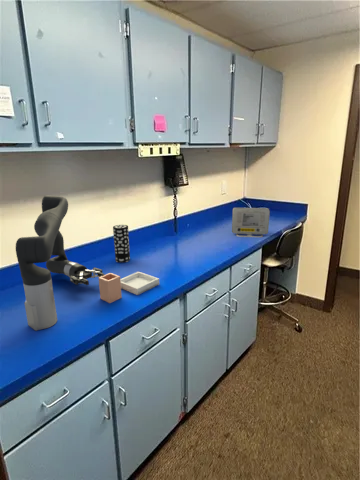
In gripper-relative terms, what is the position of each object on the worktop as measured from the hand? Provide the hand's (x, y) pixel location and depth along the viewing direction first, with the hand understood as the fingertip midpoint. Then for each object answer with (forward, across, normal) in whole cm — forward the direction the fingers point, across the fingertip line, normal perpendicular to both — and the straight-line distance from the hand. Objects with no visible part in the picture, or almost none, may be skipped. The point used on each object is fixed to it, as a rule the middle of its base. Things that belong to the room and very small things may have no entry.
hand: (96, 279), depth 136 cm
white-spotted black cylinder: (-22, +34, +6) cm, 41 cm away
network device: (+12, +125, +6) cm, 126 cm away
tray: (+10, +16, +6) cm, 20 cm away
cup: (+10, 0, +6) cm, 11 cm away
